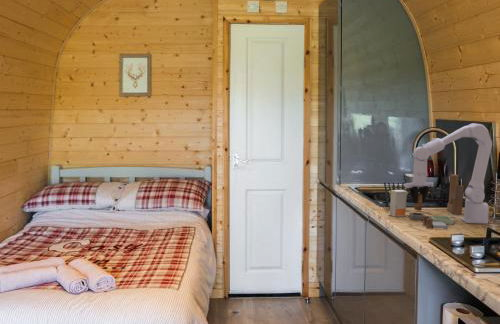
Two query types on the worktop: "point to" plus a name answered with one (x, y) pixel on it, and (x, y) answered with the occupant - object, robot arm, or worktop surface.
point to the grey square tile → (439, 225)
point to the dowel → (418, 203)
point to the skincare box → (398, 203)
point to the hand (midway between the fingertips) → (418, 202)
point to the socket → (416, 216)
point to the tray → (442, 219)
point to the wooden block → (455, 196)
